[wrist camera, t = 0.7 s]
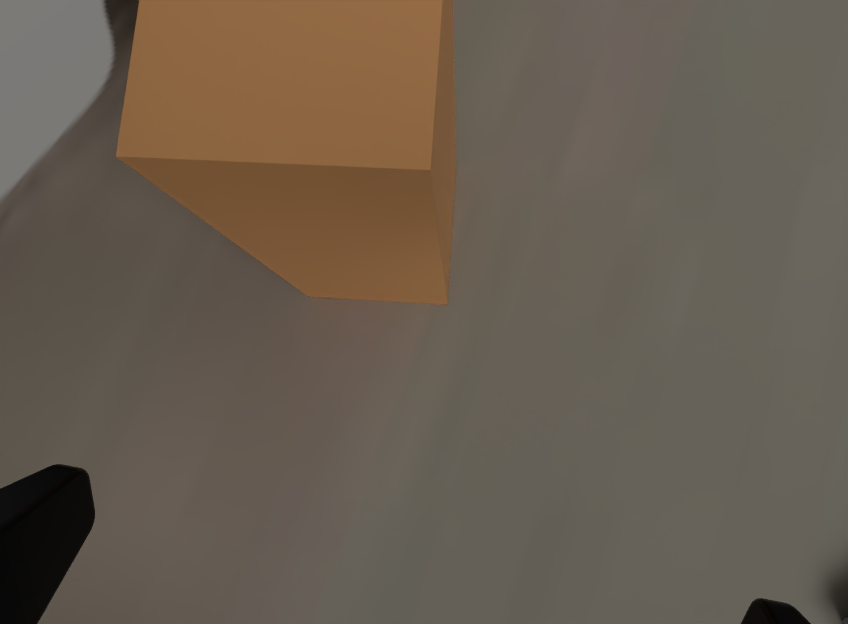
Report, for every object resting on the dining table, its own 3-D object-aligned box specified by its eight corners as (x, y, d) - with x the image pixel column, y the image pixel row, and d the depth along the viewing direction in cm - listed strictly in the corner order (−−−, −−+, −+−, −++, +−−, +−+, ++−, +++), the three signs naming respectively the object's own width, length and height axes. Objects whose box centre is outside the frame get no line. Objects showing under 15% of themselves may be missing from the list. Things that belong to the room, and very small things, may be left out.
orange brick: (447, 304, 22) (430, 170, 9) (308, 296, 22) (115, 156, 10) (456, 170, 22) (450, -119, 10) (321, 164, 23) (158, -122, 10)
